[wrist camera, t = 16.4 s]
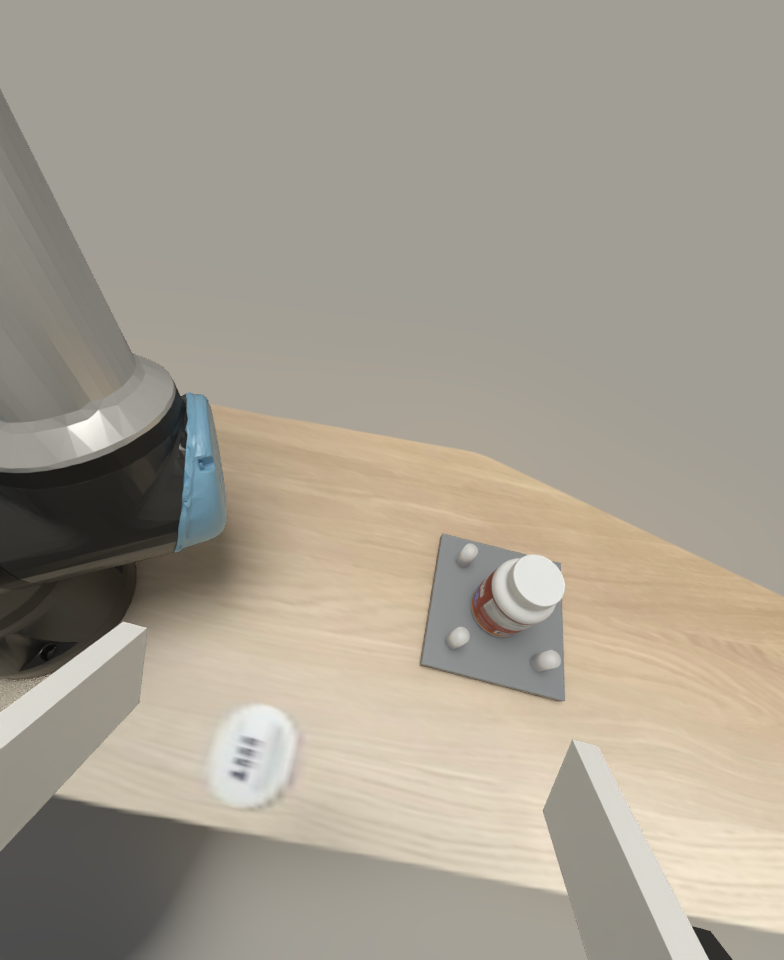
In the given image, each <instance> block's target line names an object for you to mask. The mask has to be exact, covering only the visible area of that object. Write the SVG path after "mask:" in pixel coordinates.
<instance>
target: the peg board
mask: <svg viewBox="0 0 784 960" xmlns="http://www.w3.org/2000/svg"><path fill="white" fill-rule="evenodd" d="M524 556H527V555H526V554H522V553H518V552H514V551H510V550H506V549H502V548H498V547H494V546H490V545H486V544H482V543H478V542H474V541H470V540H466V539H462V538H458V537H455V536H451V535H447V534H442V535H441V537H440V543H439V549H438V555H437V562H436V568H435V574H434V580H433V586H432V592H431V599H430V605H429V611H428V617H427V623H426V629H425V636H424V642H423V648H422V654H421V660H420V665H422V666H426V667H430V668H433V669H437V670H441V671H445V672H449V673H453V674H457V675H460V676H464V677H468V678H472V679H476V680H480V681H483V682H487V683H491V684H495V685H499V686H503V687H506V688H510V689H514V690H518V691H522V692H526V693H529V694H533V695H537V696H541V697H545V698H549V699H553V700H556V701H565V685H564V652H563V620H562V598H561V600H560V601H559V602H558V603H557V604H556V606H555V608H554V611H553V612H552V614H551V615H550V616H549V617H548V618H547V619H545V620H543V621H542V622H540V623H538V624H536V625H533V626H531V627H529V628H527V629H525V630H523V631H521V632H518V633H516V634H514V635H511V636H508V637H498V636H494V635H491V634H489V633H488V632H486V631H485V630H483V629H482V628H481V627H480V626H479V624H478V623H477V622H476V620H475V618H474V616H473V613H472V608H471V601H472V596H473V594H474V591H475V590H476V588H477V587H478V586H479V585H480V584H481V583H482V582H483V581H484V580H485V579H486V578H487V577H488V576H489V575H491V573H493V572H494V571H495V570H496V569H497V568H498V567H499V566H500V565H501V564H503V563H504V562H506V561H508V560H511V559H516V558H522V557H524ZM552 562H553V563H554V564H555V565H556V566H557V567H558V568H559V570H560V571H561V563H558V562H554V561H552Z"/></svg>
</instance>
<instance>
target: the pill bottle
mask: <svg viewBox="0 0 784 960" xmlns="http://www.w3.org/2000/svg"><path fill="white" fill-rule="evenodd" d="M564 591H565V582H564V578H563V575H562V573H561V571H560V570H559V568H558V567H557V566H556V565H555V564H554V563H553V562H552V561H550V560H549V559H547V558H545V557H543V556H540V555H527V556H524V557H522V558H516V559H511V560H508V561H506V562H504V563H503V564H501V565H500V566H499V567H498V568H497V569H496V570H495V571H494V572H493V573H491V575H489V576H488V577H487V578H486V579H485V580H484V581H483V582H482V583H481V584H480V585H479V586H478V587H477V588H476V590H475V591H474V594H473V596H472V601H471V608H472V613H473V616H474V618H475V620H476V622H477V623H478V624H479V626H480V627H481V628H482V629H483V630H485V631H486V632H488V633H489V634H491V635H494V636H498V637H508V636H511V635H514V634H516V633H518V632H521V631H523V630H525V629H527V628H529V627H531V626H533V625H536V624H538V623H540V622H542V621H543V620H545V619H547V618H548V617H549V616H550V615H551V614H552V612H553V611H554V608H555V606H556V604H557V603H558V602H559V601H560V600H561V598H562V597H563V594H564Z"/></svg>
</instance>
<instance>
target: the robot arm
mask: <svg viewBox="0 0 784 960" xmlns="http://www.w3.org/2000/svg"><path fill="white" fill-rule="evenodd" d="M226 523H227V502H226V493H225V485H224V478H223V471H222V464H221V458H220V452H219V446H218V440H217V435H216V429H215V424H214V419H213V415H212V411H211V407H210V405H209V403H208V400H207V398H206V397H205V396H204V395H200V394H192V393H186V394H185V395H183V396H180V394H179V392H178V390H177V388H176V385H175V383H174V381H173V379H172V377H171V376H170V374H169V372H168V371H167V370H166V369H165V368H164V367H163V366H161V365H159V364H158V363H156V362H153V361H151V360H149V359H146V358H144V357H141V356H138V355H136V354H133V353H132V352H131V350H130V348H129V346H128V344H127V342H126V340H125V338H124V336H123V334H122V332H121V330H120V328H119V326H118V324H117V322H116V320H115V318H114V316H113V314H112V312H111V310H110V308H109V306H108V304H107V302H106V300H105V298H104V296H103V294H102V292H101V290H100V288H99V286H98V284H97V282H96V280H95V278H94V276H93V274H92V272H91V270H90V268H89V266H88V264H87V262H86V260H85V258H84V256H83V254H82V252H81V250H80V248H79V246H78V244H77V242H76V240H75V238H74V236H73V234H72V232H71V230H70V228H69V226H68V224H67V222H66V220H65V218H64V216H63V214H62V212H61V210H60V208H59V206H58V204H57V202H56V200H55V198H54V196H53V194H52V192H51V190H50V188H49V186H48V184H47V182H46V180H45V178H44V176H43V174H42V172H41V170H40V168H39V166H38V164H37V162H36V160H35V158H34V155H33V154H32V152H31V149H30V147H29V145H28V144H27V141H26V140H25V137H24V135H23V134H22V132H21V130H20V128H19V126H18V123H17V121H16V119H15V117H14V115H13V113H12V112H11V110H10V107H9V105H8V103H7V101H6V99H5V97H4V95H3V93H2V91H1V89H0V678H6V679H26V678H33V677H38V676H42V675H46V674H49V673H52V672H54V673H53V674H51V675H50V676H49V677H47V678H46V679H45V680H43V681H42V682H41V683H39V684H38V685H37V686H35V687H34V688H32V689H31V690H30V691H28V692H27V693H26V694H24V695H23V696H22V697H20V698H19V699H18V700H16V701H15V702H13V703H12V704H11V705H9V706H8V707H7V708H5V709H4V710H3V711H1V712H0V851H1V850H2V849H3V848H4V847H5V846H6V845H7V844H8V842H10V841H11V839H12V838H13V837H14V836H15V835H16V834H17V833H18V832H19V831H20V830H21V829H22V828H23V827H24V825H26V823H27V822H28V821H29V820H30V819H31V818H32V817H33V816H34V815H35V814H36V813H37V812H38V811H39V809H40V808H41V807H42V806H43V805H44V804H45V803H46V802H47V801H48V800H49V799H50V798H51V797H52V796H53V795H54V793H55V792H56V791H57V790H58V789H59V788H60V787H61V786H62V785H63V784H64V783H65V782H66V781H67V780H68V779H69V777H70V776H71V775H72V774H73V773H74V772H75V771H76V770H77V769H78V768H79V767H80V766H81V765H82V764H83V762H84V761H85V760H86V759H87V758H88V757H89V756H90V755H91V754H92V753H93V752H94V751H95V750H96V749H97V747H98V746H99V745H100V744H101V743H102V742H103V741H104V740H105V739H106V738H107V737H108V736H109V735H110V734H111V733H112V731H113V730H114V729H115V728H116V727H117V726H118V725H119V724H120V723H121V722H122V721H123V720H124V719H125V718H126V716H127V715H128V714H129V713H130V712H131V711H132V710H133V709H134V708H135V707H136V706H137V705H138V704H139V700H140V691H141V682H142V673H143V664H144V654H145V645H146V636H147V628H146V627H142V626H138V625H134V624H131V623H127V622H122V623H121V624H119V625H118V623H119V622H120V620H121V619H122V617H123V616H124V614H125V612H126V610H127V609H128V606H129V604H130V602H131V599H132V597H133V593H134V589H135V584H136V568H135V563H134V562H136V561H140V560H144V559H148V558H152V557H156V556H161V555H165V554H169V553H173V552H174V553H177V552H180V551H181V550H182V549H183V548H186V547H189V546H192V545H195V544H199V543H202V542H205V541H208V540H211V539H213V538H215V537H217V536H218V535H219V534H220V533H221V532H222V531H223V530H224V528H225V526H226ZM117 625H118V626H117ZM116 626H117V627H116ZM55 671H56V672H55ZM543 813H544V817H545V820H546V823H547V826H548V830H549V833H550V836H551V840H552V843H553V846H554V850H555V853H556V856H557V860H558V863H559V866H560V869H561V873H562V876H563V879H564V883H565V886H566V889H567V893H568V896H569V899H570V902H571V906H572V909H573V912H574V915H575V919H576V922H577V926H578V929H579V932H580V935H581V939H582V942H583V945H584V949H585V952H586V955H587V959H588V960H732V958H731V957H730V956H729V955H728V953H727V952H726V951H725V949H724V948H723V947H722V946H721V944H720V943H719V942H718V941H717V939H716V938H715V937H714V935H713V934H712V933H711V931H707V930H704V929H701V928H697V927H693V926H691V924H690V922H689V920H688V919H687V916H686V915H685V913H684V911H683V909H682V907H681V905H680V903H679V901H678V899H677V897H676V895H675V893H674V892H673V890H672V888H671V886H670V884H669V882H668V880H667V878H666V876H665V874H664V872H663V870H662V868H661V867H660V865H659V863H658V861H657V859H656V857H655V855H654V853H653V851H652V849H651V847H650V845H649V843H648V842H647V840H646V838H645V836H644V834H643V832H642V830H641V828H640V826H639V824H638V822H637V820H636V818H635V817H634V815H633V813H632V811H631V809H630V807H629V805H628V803H627V801H626V799H625V797H624V795H623V793H622V792H621V790H620V788H619V786H618V784H617V782H616V780H615V778H614V776H613V774H612V772H611V770H610V768H609V767H608V765H607V763H606V761H605V759H604V757H603V755H602V753H601V751H600V749H599V747H598V746H596V745H592V744H588V743H584V742H580V741H577V740H573V739H572V742H571V744H570V746H569V749H568V751H567V754H566V756H565V758H564V761H563V763H562V766H561V768H560V770H559V773H558V775H557V777H556V780H555V782H554V785H553V787H552V789H551V792H550V794H549V797H548V799H547V801H546V804H545V806H544V809H543Z"/></svg>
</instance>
